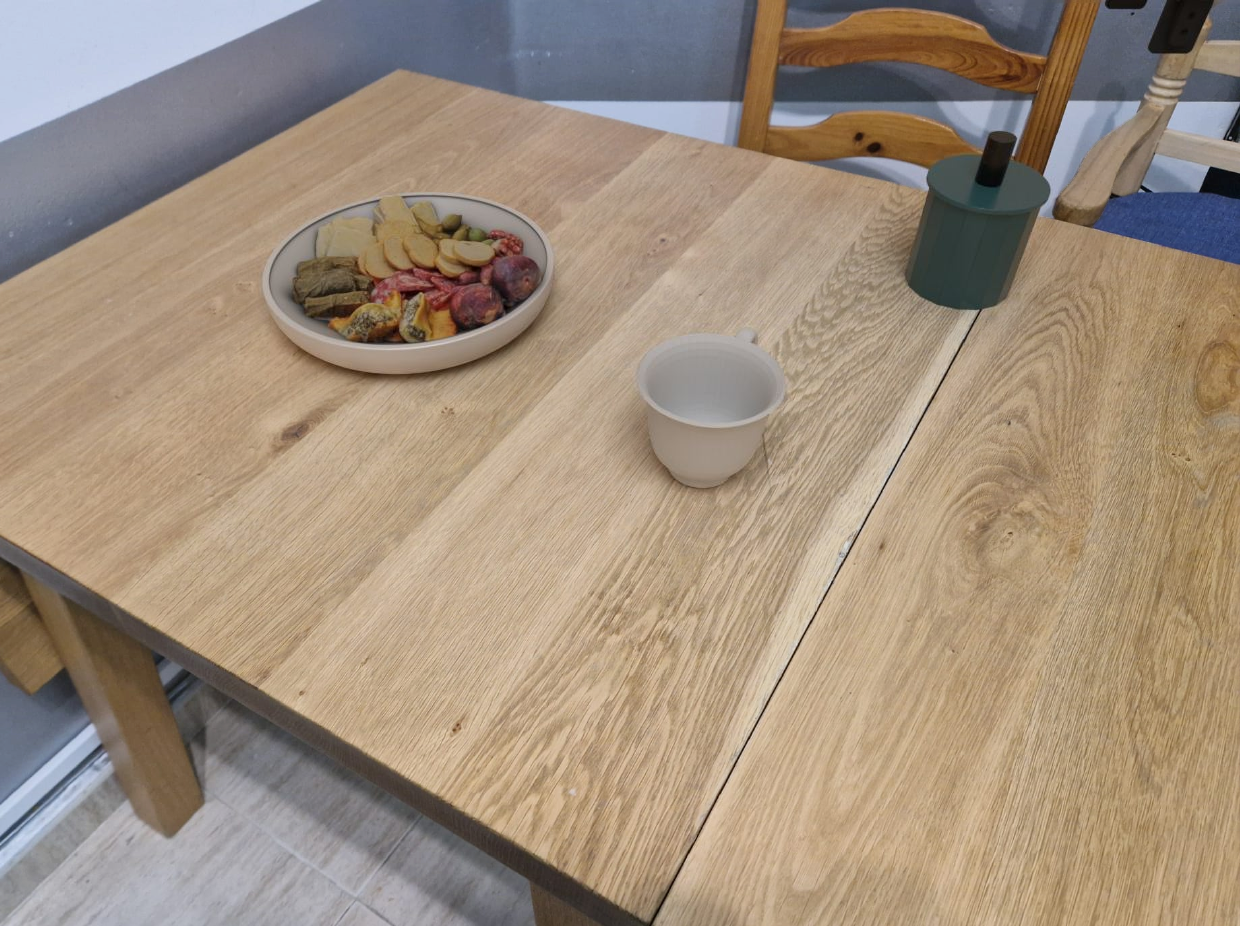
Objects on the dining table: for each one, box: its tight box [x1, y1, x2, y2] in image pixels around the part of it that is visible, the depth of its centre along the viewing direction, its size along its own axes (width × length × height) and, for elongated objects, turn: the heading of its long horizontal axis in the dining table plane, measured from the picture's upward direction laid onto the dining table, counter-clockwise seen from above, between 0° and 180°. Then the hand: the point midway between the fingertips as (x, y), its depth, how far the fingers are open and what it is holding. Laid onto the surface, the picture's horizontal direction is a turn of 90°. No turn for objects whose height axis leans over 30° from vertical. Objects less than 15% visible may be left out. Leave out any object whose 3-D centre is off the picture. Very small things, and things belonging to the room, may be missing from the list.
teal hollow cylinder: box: [904, 187, 1042, 311], centre depth 97 cm, size 11×11×12 cm
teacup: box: [635, 326, 787, 489], centre depth 80 cm, size 12×15×10 cm
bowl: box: [261, 191, 555, 375], centre depth 98 cm, size 30×30×8 cm
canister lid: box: [925, 130, 1052, 215], centre depth 91 cm, size 12×12×6 cm
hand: (1144, 29), depth 76 cm, fingers open, 9 cm apart
